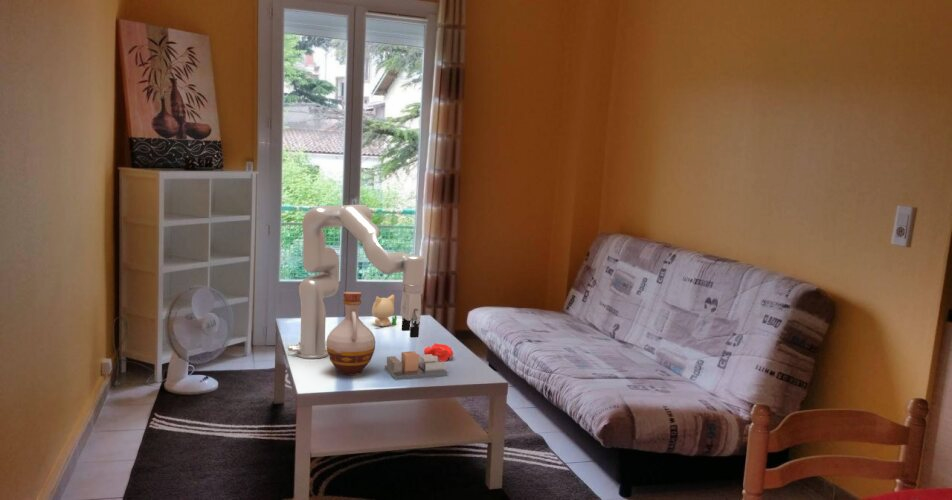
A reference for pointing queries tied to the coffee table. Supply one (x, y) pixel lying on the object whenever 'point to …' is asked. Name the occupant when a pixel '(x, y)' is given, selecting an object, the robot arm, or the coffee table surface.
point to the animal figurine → (439, 351)
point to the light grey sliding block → (426, 359)
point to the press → (429, 371)
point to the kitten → (384, 310)
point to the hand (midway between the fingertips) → (409, 333)
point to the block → (409, 361)
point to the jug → (351, 339)
